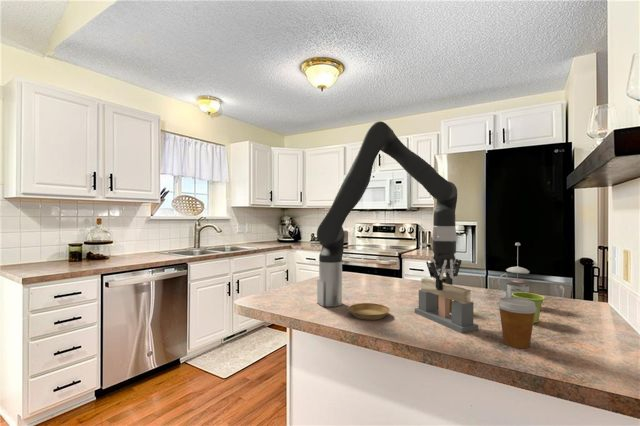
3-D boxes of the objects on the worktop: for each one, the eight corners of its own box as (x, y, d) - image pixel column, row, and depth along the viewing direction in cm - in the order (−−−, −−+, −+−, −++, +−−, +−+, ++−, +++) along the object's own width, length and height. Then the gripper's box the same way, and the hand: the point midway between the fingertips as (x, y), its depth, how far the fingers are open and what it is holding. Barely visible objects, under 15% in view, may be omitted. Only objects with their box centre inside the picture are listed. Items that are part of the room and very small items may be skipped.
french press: (535, 309, 124) (535, 244, 124) (501, 306, 128) (501, 243, 128) (528, 302, 133) (528, 241, 133) (496, 300, 137) (496, 240, 137)
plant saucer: (341, 312, 121) (341, 305, 121) (374, 307, 127) (374, 301, 127) (361, 324, 107) (361, 317, 107) (398, 319, 113) (398, 311, 113)
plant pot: (539, 318, 114) (539, 293, 114) (548, 327, 105) (548, 300, 105) (509, 315, 117) (509, 291, 117) (515, 323, 108) (515, 297, 108)
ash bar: (464, 303, 101) (464, 290, 101) (421, 289, 120) (421, 278, 120) (470, 302, 102) (470, 290, 102) (426, 288, 121) (426, 278, 121)
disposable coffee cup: (490, 337, 96) (490, 297, 96) (520, 336, 97) (520, 296, 97) (511, 351, 86) (512, 306, 86) (545, 350, 87) (545, 305, 87)
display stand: (461, 333, 100) (461, 305, 100) (414, 312, 120) (414, 289, 120) (478, 329, 102) (478, 302, 102) (429, 310, 123) (429, 287, 123)
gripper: (451, 237, 117) (451, 285, 117) (420, 239, 112) (420, 289, 112) (468, 239, 110) (468, 290, 110) (435, 240, 105) (435, 294, 105)
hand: (444, 289), depth 111 cm, fingers open, 3 cm apart
